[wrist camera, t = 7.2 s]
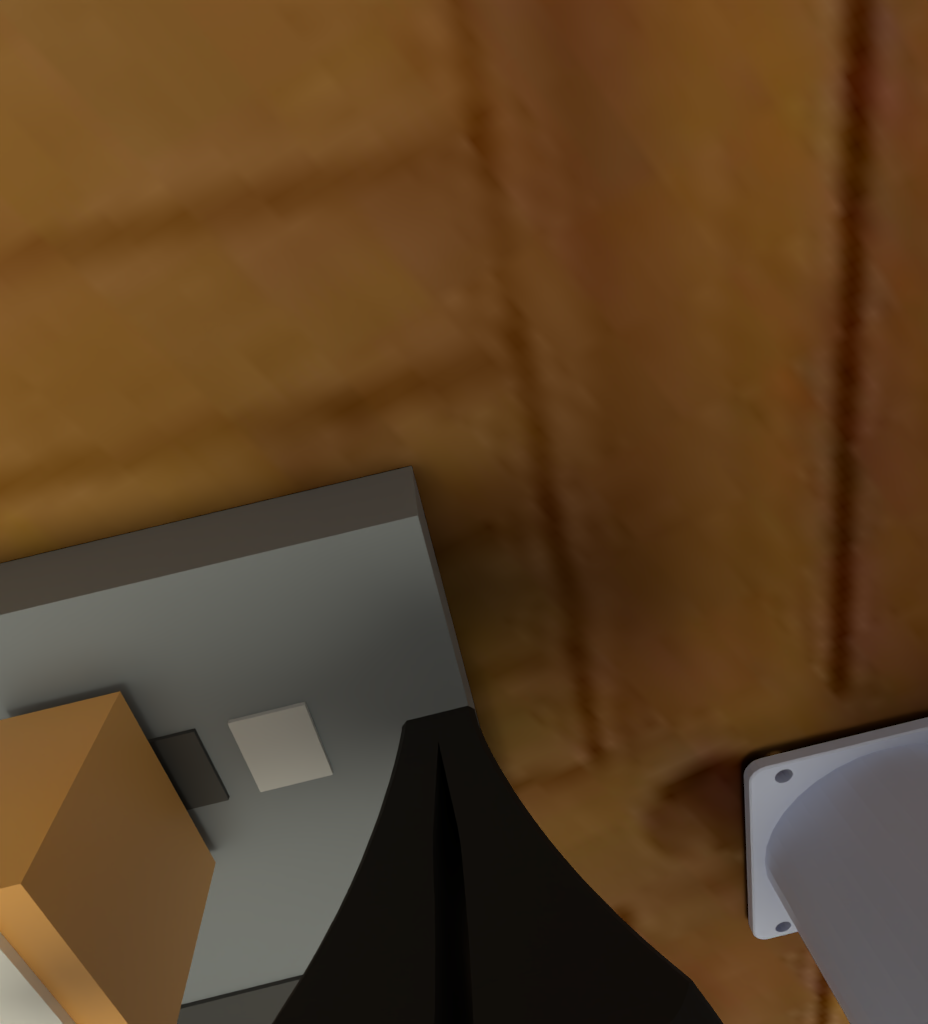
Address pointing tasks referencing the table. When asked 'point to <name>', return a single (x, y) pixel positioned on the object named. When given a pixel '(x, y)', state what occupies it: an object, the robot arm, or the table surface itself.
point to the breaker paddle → (94, 871)
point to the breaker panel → (253, 696)
